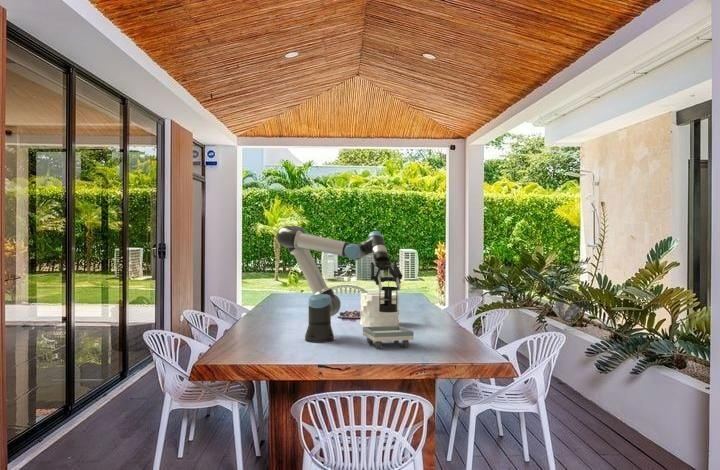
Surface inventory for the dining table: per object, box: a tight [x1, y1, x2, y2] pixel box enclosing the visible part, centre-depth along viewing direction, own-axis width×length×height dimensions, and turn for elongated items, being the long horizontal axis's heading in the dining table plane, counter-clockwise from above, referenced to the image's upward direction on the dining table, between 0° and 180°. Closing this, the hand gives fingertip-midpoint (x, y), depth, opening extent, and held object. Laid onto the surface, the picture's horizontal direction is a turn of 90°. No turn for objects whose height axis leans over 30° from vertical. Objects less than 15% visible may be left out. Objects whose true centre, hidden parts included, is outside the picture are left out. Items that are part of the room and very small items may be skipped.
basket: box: [359, 291, 400, 327], centre depth 376 cm, size 25×24×19 cm
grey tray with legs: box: [362, 325, 414, 350], centre depth 306 cm, size 20×20×8 cm
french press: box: [378, 265, 399, 313], centre depth 306 cm, size 12×9×23 cm
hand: (390, 289), depth 303 cm, fingers closed on french press, 9 cm apart
